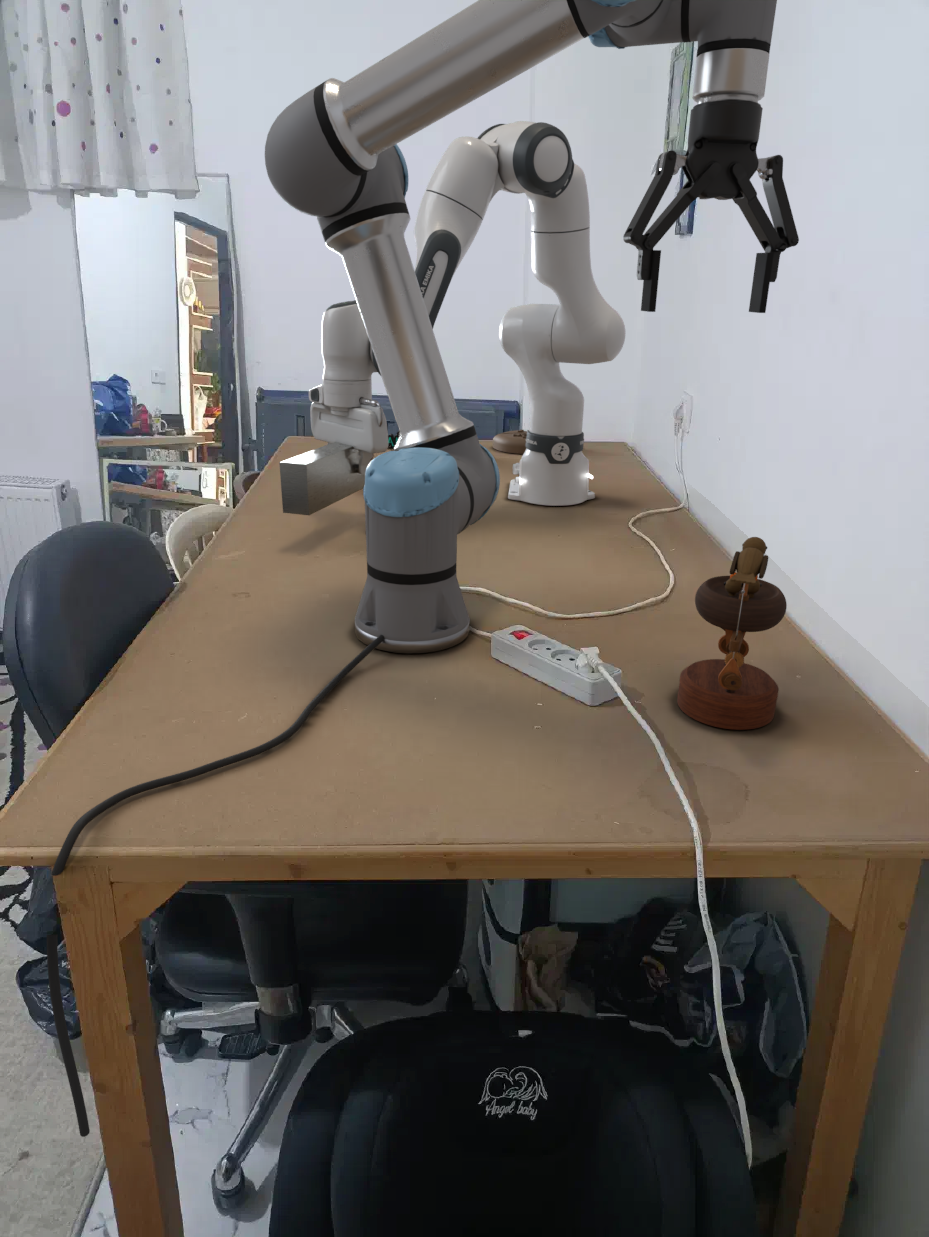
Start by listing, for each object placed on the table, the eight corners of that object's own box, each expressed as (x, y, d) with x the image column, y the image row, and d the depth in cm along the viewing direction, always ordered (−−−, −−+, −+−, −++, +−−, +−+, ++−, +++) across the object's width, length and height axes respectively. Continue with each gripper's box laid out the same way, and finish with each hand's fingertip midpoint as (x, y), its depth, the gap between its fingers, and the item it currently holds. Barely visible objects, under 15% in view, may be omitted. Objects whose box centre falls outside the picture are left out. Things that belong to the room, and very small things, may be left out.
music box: (793, 740, 87) (809, 557, 80) (685, 741, 89) (691, 560, 81) (762, 676, 102) (773, 514, 94) (668, 677, 103) (672, 518, 95)
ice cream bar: (498, 463, 213) (499, 446, 211) (490, 442, 239) (491, 427, 237) (581, 463, 214) (582, 447, 212) (564, 443, 240) (565, 428, 238)
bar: (309, 515, 142) (306, 464, 139) (282, 512, 143) (279, 462, 140) (367, 486, 162) (365, 441, 159) (343, 484, 164) (341, 439, 160)
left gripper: (814, 114, 97) (785, 311, 105) (605, 104, 93) (591, 309, 101) (852, 103, 90) (817, 314, 98) (628, 91, 86) (611, 312, 94)
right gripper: (396, 399, 150) (397, 477, 155) (331, 388, 164) (333, 459, 169) (367, 402, 146) (369, 481, 151) (303, 390, 160) (306, 463, 165)
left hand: (702, 312), depth 100 cm, fingers open, 13 cm apart
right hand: (350, 470), depth 160 cm, fingers closed on bar, 6 cm apart
